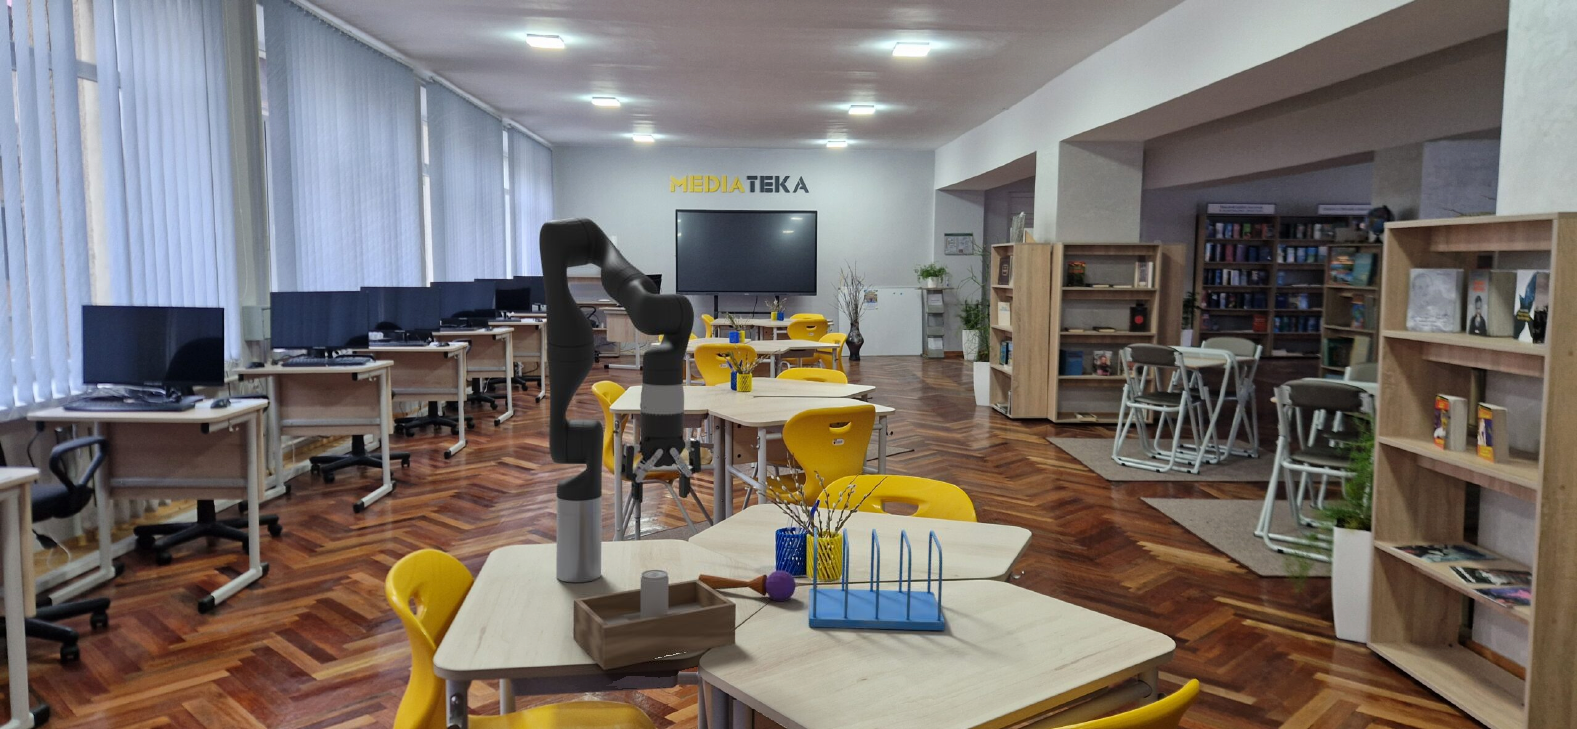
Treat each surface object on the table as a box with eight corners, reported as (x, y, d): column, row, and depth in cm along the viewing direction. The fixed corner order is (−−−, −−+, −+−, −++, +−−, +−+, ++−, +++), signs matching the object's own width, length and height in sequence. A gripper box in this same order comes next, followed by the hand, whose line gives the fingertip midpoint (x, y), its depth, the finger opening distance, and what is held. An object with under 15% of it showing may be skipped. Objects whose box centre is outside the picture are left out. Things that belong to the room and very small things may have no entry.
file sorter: (933, 600, 188) (936, 526, 187) (945, 633, 171) (948, 551, 170) (808, 596, 189) (811, 522, 187) (808, 628, 172) (810, 546, 170)
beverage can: (671, 636, 165) (672, 570, 164) (662, 647, 161) (663, 579, 160) (645, 634, 166) (646, 568, 165) (635, 644, 162) (636, 576, 161)
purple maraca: (706, 566, 194) (798, 569, 188) (705, 595, 193) (798, 599, 188) (695, 569, 188) (790, 572, 183) (694, 599, 188) (790, 603, 182)
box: (573, 638, 164) (573, 599, 163) (697, 615, 176) (697, 579, 175) (604, 670, 151) (604, 628, 150) (734, 642, 163) (735, 604, 163)
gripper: (632, 414, 156) (631, 509, 158) (708, 409, 163) (706, 500, 165) (615, 407, 162) (615, 499, 164) (690, 403, 170) (688, 490, 172)
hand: (661, 499), depth 165 cm, fingers open, 8 cm apart
